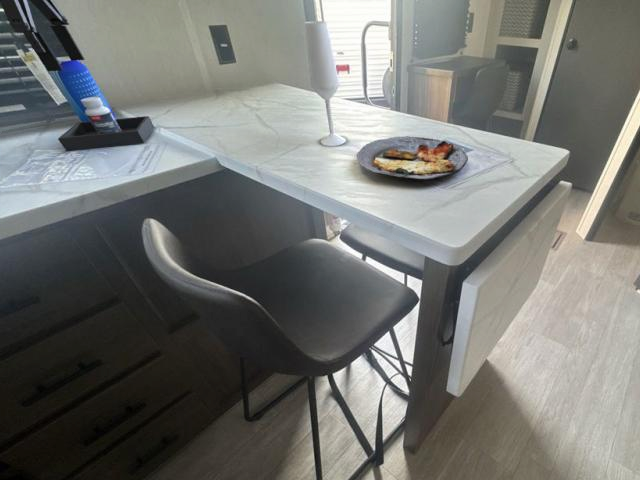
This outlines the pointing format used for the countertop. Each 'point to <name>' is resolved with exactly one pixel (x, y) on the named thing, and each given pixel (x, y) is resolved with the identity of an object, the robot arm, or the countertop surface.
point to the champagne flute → (323, 71)
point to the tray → (107, 134)
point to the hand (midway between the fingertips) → (67, 65)
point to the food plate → (412, 157)
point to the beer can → (77, 85)
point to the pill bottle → (100, 116)
